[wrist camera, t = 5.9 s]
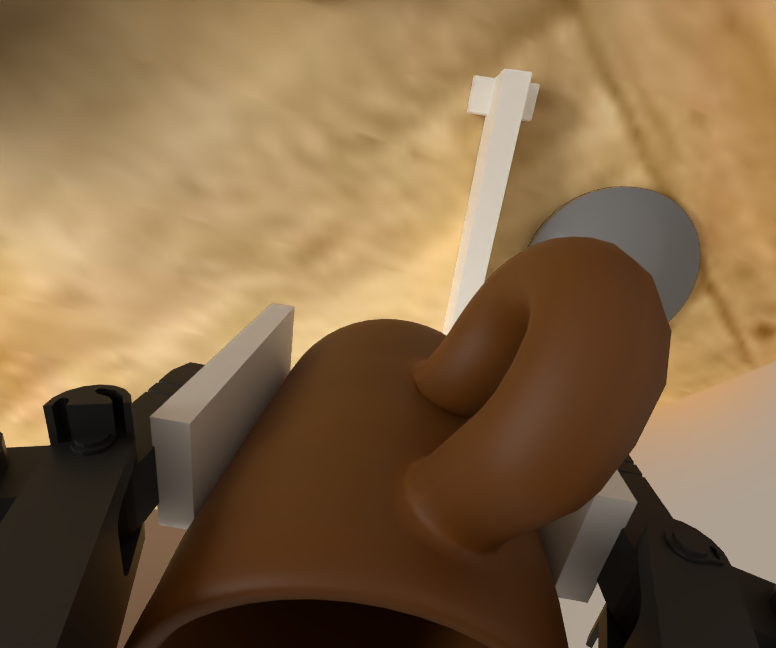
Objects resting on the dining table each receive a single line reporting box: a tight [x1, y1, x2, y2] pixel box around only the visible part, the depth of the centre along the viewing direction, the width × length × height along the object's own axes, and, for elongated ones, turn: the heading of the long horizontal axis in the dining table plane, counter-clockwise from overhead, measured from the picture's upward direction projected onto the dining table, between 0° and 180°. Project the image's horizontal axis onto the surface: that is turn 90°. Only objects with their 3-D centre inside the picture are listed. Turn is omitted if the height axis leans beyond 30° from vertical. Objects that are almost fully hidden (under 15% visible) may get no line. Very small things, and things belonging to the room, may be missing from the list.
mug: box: [124, 236, 671, 648], centre depth 10 cm, size 12×8×9 cm, turn 154°
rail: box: [443, 68, 540, 336], centre depth 28 cm, size 4×22×4 cm, turn 173°
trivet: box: [527, 186, 701, 322], centre depth 30 cm, size 12×12×1 cm
